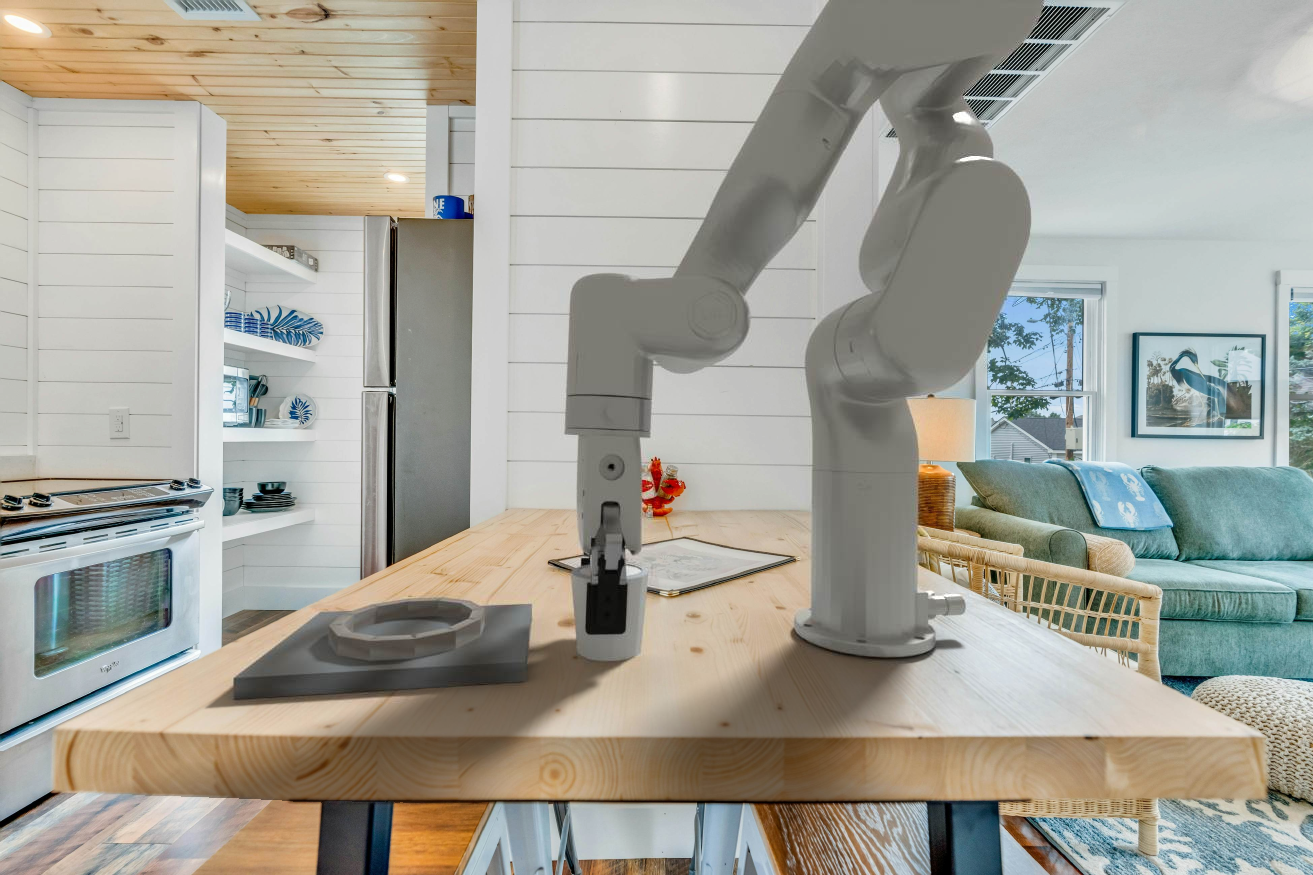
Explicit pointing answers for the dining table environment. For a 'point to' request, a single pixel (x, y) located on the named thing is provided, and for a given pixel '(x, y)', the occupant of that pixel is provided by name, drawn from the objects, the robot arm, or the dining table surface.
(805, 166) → the robot arm
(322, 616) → the ring board
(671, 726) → the dining table surface
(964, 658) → the dining table surface
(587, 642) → the white cup
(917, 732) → the dining table surface
